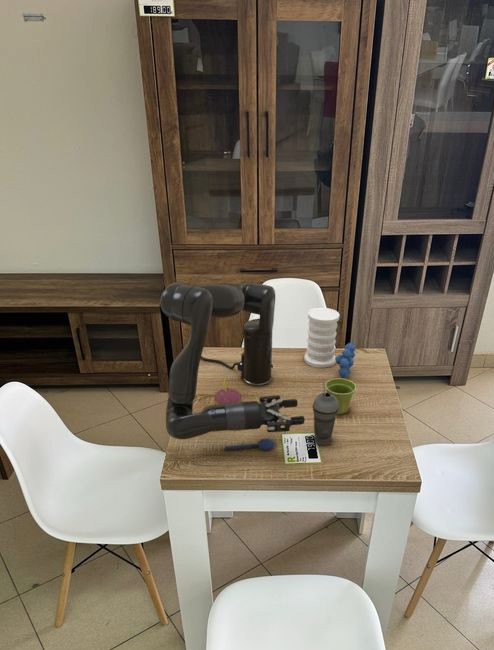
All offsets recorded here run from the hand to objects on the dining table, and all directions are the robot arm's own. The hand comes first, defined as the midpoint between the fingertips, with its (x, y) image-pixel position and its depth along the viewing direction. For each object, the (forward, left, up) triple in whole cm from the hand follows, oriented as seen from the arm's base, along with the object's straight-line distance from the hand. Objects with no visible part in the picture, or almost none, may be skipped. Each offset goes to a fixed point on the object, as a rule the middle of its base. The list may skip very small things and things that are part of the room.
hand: (300, 411), depth 149 cm
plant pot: (+1, +22, -11) cm, 25 cm away
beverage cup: (+5, +5, -11) cm, 13 cm away
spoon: (-10, -10, -11) cm, 18 cm away
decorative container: (-20, +47, -11) cm, 52 cm away
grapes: (-8, +42, -11) cm, 44 cm away
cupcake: (-26, +1, -11) cm, 28 cm away
